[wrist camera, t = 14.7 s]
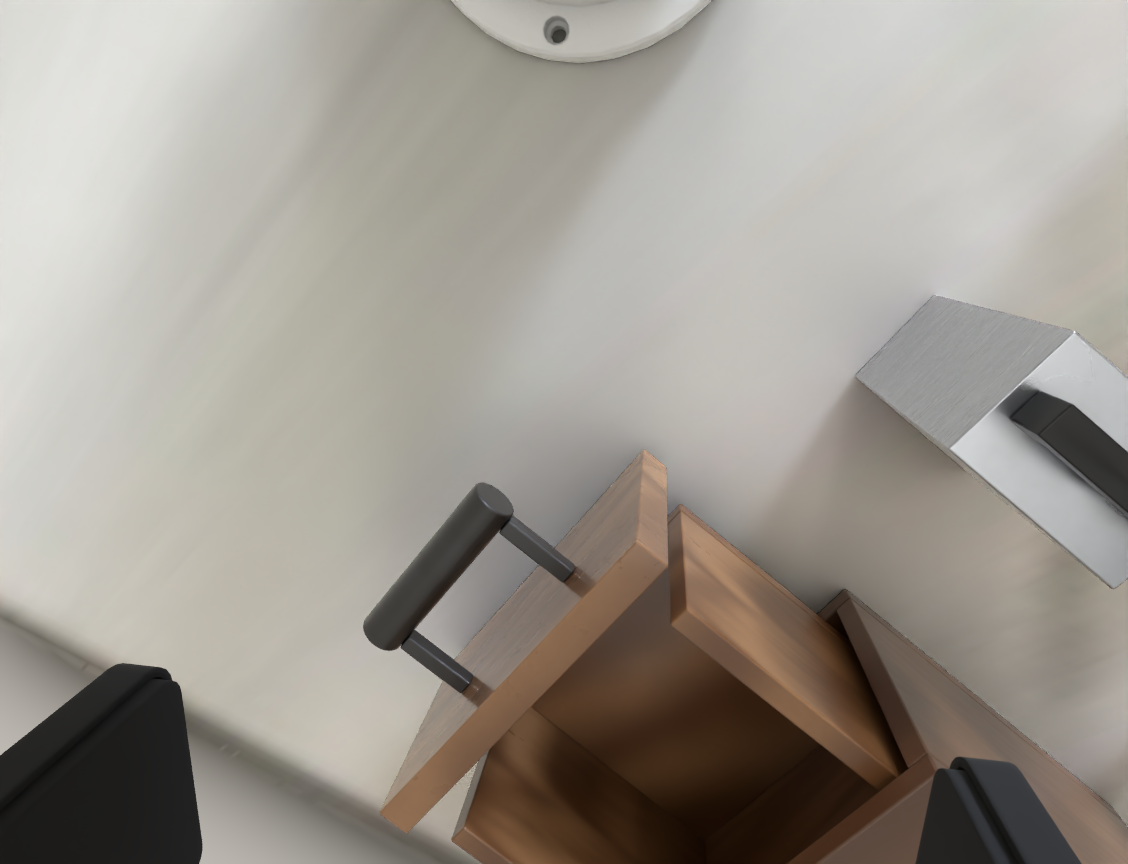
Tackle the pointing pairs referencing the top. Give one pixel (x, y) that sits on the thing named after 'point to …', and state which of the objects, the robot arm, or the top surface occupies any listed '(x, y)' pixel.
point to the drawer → (633, 695)
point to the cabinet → (945, 755)
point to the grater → (1020, 419)
